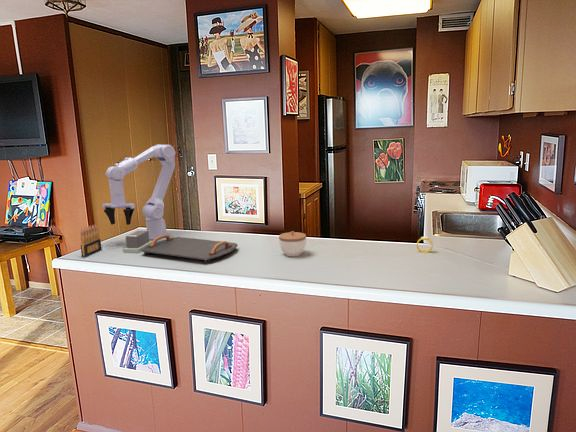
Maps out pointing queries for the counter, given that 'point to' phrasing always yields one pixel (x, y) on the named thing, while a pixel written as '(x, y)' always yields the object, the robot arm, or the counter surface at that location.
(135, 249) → the pin header
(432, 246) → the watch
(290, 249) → the lidded jar
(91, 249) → the ammunition clip
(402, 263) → the counter surface
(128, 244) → the block
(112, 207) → the robot arm
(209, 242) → the serving board
